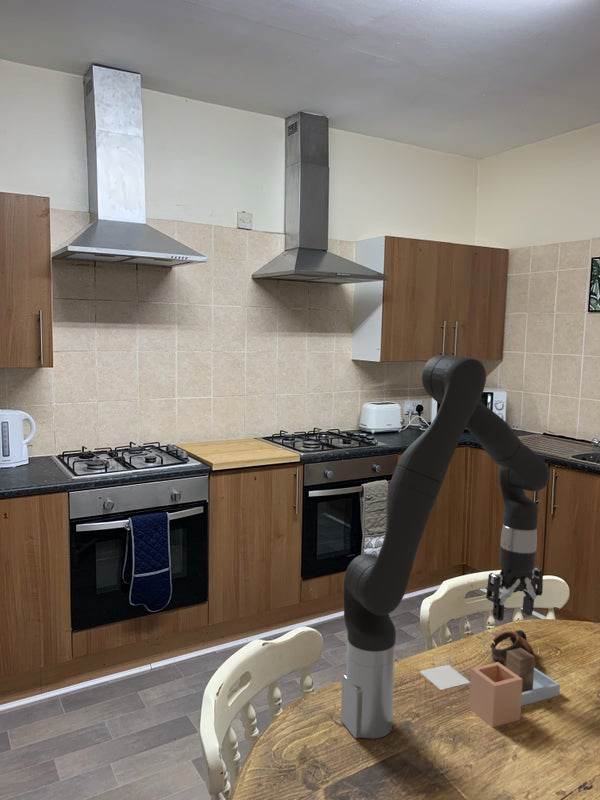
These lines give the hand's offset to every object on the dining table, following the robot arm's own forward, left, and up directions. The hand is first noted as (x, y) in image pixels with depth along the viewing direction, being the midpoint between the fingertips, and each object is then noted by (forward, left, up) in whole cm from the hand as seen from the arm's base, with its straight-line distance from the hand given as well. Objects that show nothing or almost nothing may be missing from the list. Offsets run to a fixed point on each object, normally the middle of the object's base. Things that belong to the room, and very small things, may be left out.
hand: (513, 616), depth 137 cm
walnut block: (-2, -5, -14) cm, 15 cm away
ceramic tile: (-14, +5, -14) cm, 21 cm away
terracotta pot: (-13, -10, -14) cm, 22 cm away
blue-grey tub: (-2, -5, -14) cm, 15 cm away
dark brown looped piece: (+6, +5, -15) cm, 16 cm away
